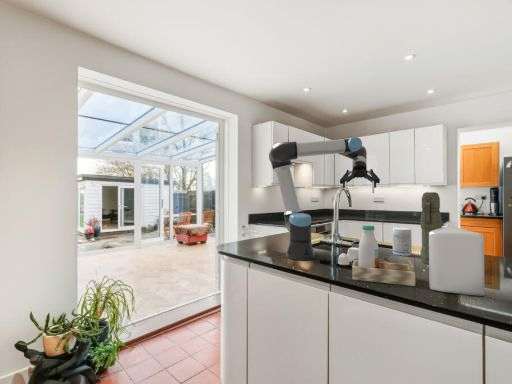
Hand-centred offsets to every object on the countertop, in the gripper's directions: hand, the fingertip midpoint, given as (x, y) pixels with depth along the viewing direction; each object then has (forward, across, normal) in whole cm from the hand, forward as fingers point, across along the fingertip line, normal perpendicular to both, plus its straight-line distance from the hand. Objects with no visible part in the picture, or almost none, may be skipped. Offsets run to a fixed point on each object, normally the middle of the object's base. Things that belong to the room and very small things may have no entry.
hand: (359, 191), depth 142 cm
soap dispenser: (+49, -32, -2) cm, 59 cm away
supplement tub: (+10, -22, -41) cm, 48 cm away
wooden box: (+47, -9, -4) cm, 48 cm away
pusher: (+46, -11, -3) cm, 47 cm away
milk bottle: (+46, -4, -3) cm, 46 cm away
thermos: (+22, -33, -29) cm, 49 cm away
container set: (+29, +5, -22) cm, 37 cm away
